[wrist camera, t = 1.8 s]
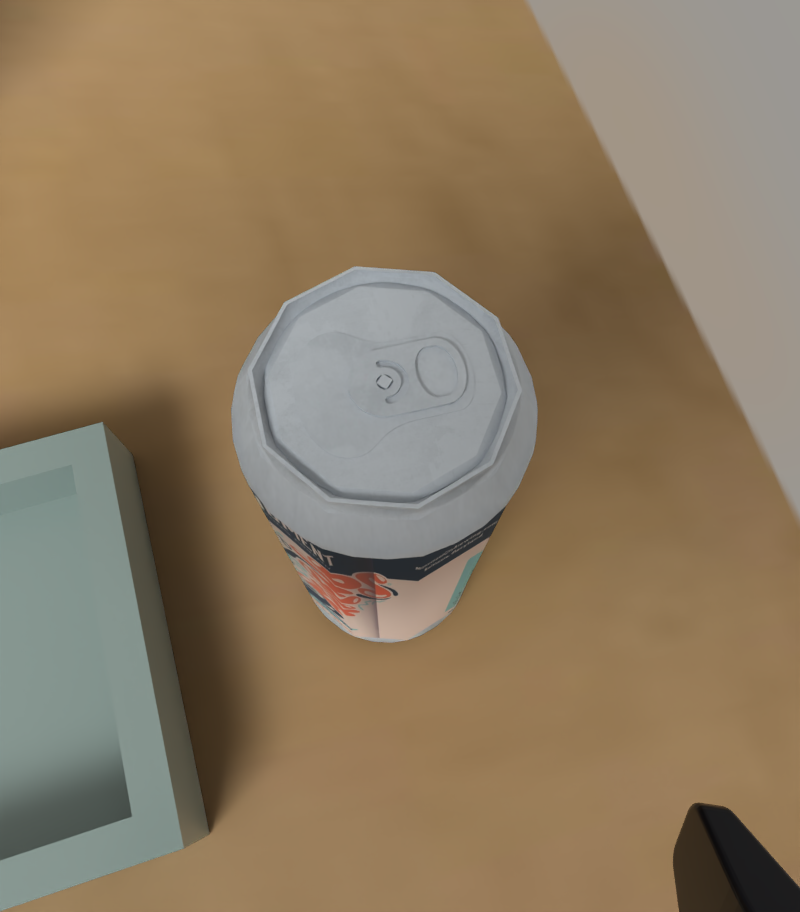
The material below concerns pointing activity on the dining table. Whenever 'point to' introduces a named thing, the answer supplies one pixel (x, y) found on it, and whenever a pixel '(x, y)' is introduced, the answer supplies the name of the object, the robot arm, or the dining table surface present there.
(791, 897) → the robot arm
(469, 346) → the beer can
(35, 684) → the dish
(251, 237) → the dining table surface
